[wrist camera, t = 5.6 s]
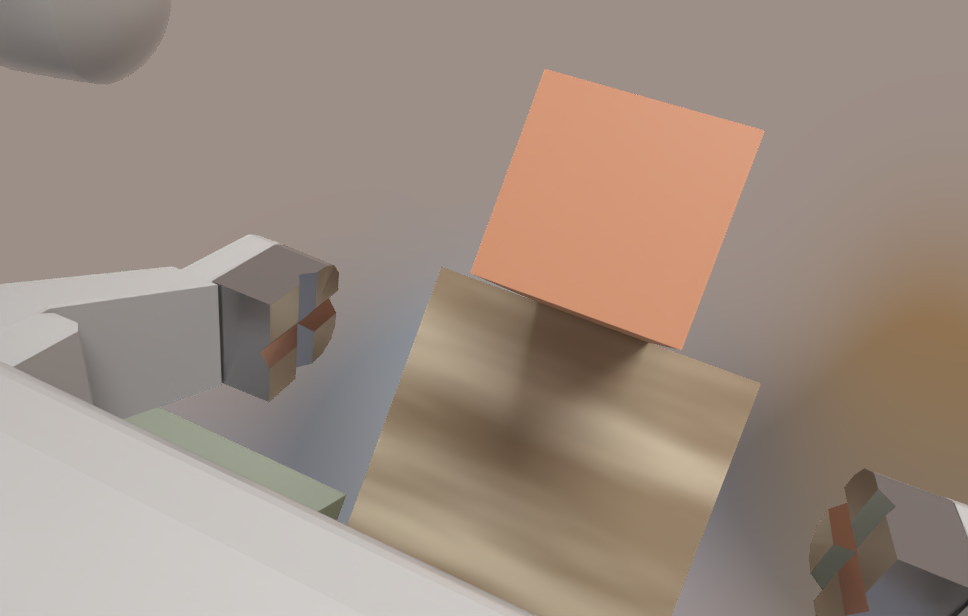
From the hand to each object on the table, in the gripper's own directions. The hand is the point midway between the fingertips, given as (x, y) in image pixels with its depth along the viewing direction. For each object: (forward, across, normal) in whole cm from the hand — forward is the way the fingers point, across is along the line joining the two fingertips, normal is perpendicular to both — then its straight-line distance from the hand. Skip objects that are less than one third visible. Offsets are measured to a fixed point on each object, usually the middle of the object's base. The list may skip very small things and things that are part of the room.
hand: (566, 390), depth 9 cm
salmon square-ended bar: (+12, 0, -6) cm, 13 cm away
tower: (+2, 0, -30) cm, 30 cm away
